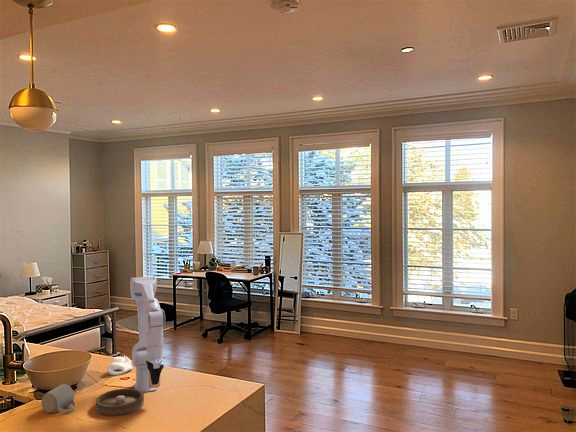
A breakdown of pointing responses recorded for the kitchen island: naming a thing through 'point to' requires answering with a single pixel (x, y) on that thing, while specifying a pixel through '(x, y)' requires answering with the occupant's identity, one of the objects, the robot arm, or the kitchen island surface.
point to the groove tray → (112, 402)
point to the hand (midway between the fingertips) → (154, 381)
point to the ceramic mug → (58, 399)
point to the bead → (151, 383)
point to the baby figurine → (119, 365)
